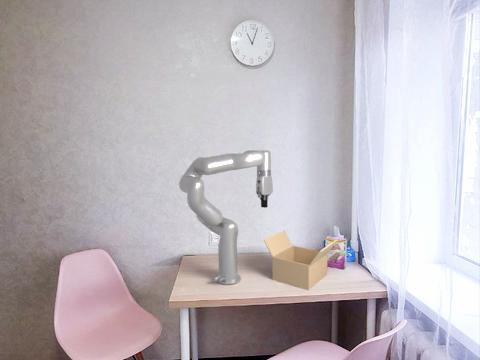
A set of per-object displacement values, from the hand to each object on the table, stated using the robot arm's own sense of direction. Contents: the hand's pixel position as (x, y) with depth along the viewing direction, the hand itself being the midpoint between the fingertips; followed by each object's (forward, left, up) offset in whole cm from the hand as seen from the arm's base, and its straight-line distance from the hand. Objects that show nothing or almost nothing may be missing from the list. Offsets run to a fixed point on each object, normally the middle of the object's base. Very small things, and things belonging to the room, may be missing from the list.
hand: (264, 207), depth 168 cm
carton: (+2, -20, -35) cm, 41 cm away
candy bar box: (+26, -30, -35) cm, 53 cm away
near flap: (+2, -33, -19) cm, 38 cm away
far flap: (+2, -8, -19) cm, 21 cm away
